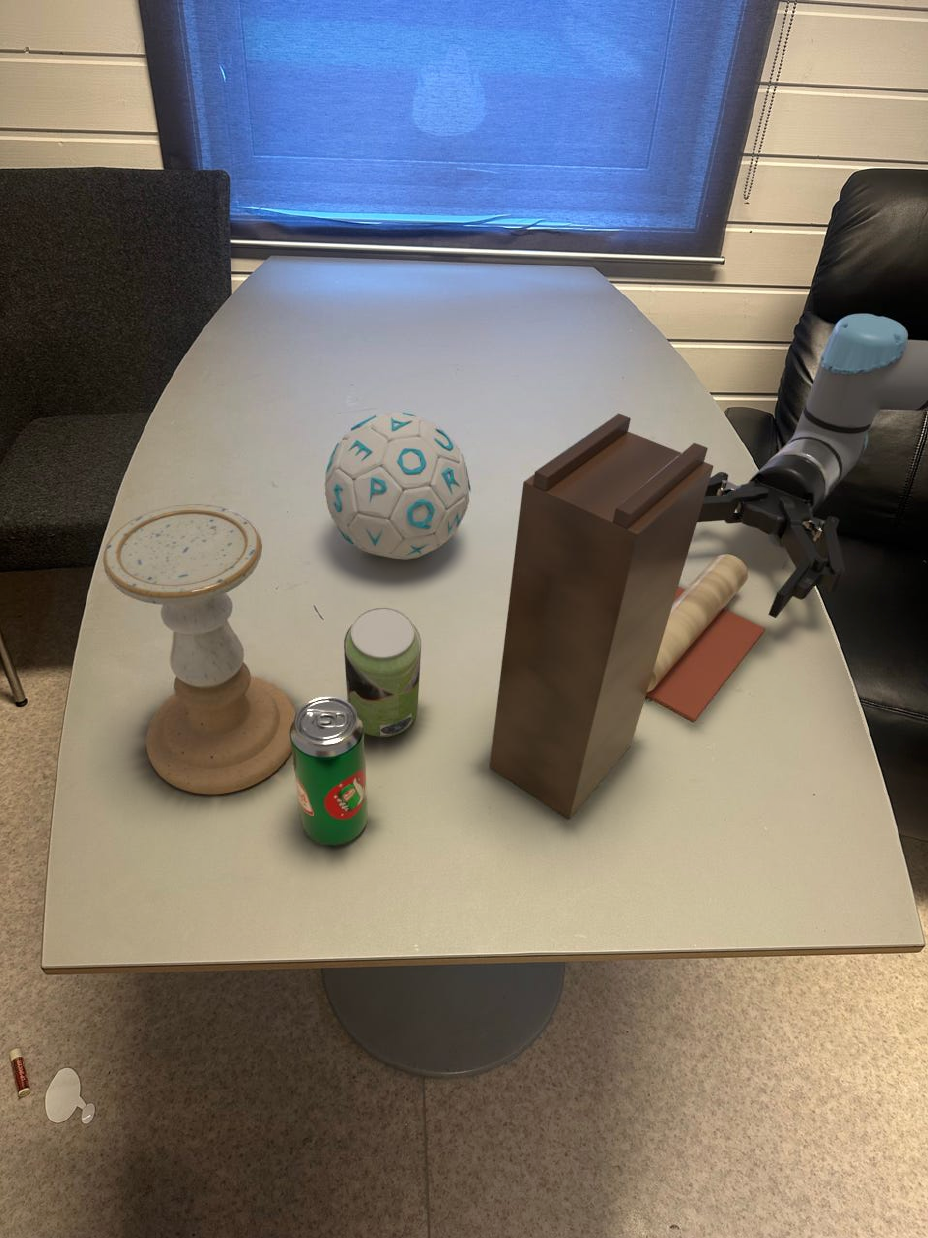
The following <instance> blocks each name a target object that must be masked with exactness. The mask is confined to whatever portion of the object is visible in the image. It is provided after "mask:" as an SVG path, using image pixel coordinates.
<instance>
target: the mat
mask: <svg viewBox="0 0 928 1238" xmlns="http://www.w3.org/2000/svg"><path fill="white" fill-rule="evenodd" d="M685 590H686V589H684V588H682V587H680V586H678V589H677V592H676V595H675V599H674V601H675V600H676V599H677V598H678V597H679V596H680V595H681V594H682V593H683V592H684V591H685ZM765 631H766V627H764V626H762V625H760V624H758V623H755V622H753V621H751V620H749V619H747V618H745V617H743V616H741V615H738V614H736V613H735V612H732V611H730V610H728V609H726V608H725V607H724V608H723V609H722V610H721V611H720V613H719V614H718V615H717V616H716V617H715V618H714V619H713V621H712V622H711V623H710V624H709V625H708V626H707V628H706V629H705V630H704V631H703V632H702V633H701V635H700V636H699V637H698V638H697V639H696V640H695V641H694V643H693V644H692V645H691V646H690V647H689V648H688V650H687V651H686V652H685V653H684V654H683V655H682V656H681V658H680V659H679V660H678V661H677V662H676V663H675V665H674V666H673V667H672V668H671V669H670V670H669V671H668V673H667V674H666V675H665V676H664V677H663V678H662V680H661V681H660V682H659V683H658V684H657V685H656V686H655V688H654V689H653V690H651V691H649V692H647V693H646V697H648V698H649V699H650V700H653V701H654V702H656V703H658V704H660V705H662V706H664V707H666V708H667V709H669V710H672V711H673V712H675V713H676V714H678V715H680V716H682V717H683V718H686V720H687V719H688V720H689V721H691V722H692V723H694V722H696V720H697V719H698V718H699V716H700V715H701V714H702V712H703V711H704V710H705V708H706V707H707V705H709V703H710V702H711V701H712V699H713V698H714V697H715V696H716V695H717V693H718V691H720V689H721V688H722V687H723V686H724V684H725V683H726V682H727V680H728V679H729V677H730V676H731V675H732V674H733V672H734V671H735V670H736V669H737V667H738V666H739V664H740V663H741V662H742V661H743V659H745V657H746V656H747V654H748V653H749V652H750V650H751V649H752V648H753V647H754V645H755V644H756V643H757V641H758V640H759V639H760V637H761V636H762V635H763V634H764V632H765Z"/></svg>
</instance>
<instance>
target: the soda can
mask: <svg viewBox="0 0 928 1238" xmlns="http://www.w3.org/2000/svg"><path fill="white" fill-rule="evenodd" d="M290 742H291V749H292V751H291V757H292V763H293V770H294V771H293V772H294V777H295V784H296V785H295V786H296V790H297V791H296V794H297V799H298V800H297V801H298V806H299V807H298V808H299V814H300V822H301V826H302V830H303V831H304V833H305V835H307V837H309V839H310V840H312V841H314V842H316V843H318V844H321V845H324V846H338V845H339V846H340V845H343V844H346V843H349V842H351V841H353V840H354V839H356V837H358V836H359V835H360V834H361V833H362V832H363V830H364V829H365V828H366V825H367V821H368V814H369V813H368V794H367V793H368V792H367V773H366V771H367V770H366V749H365V748H366V747H365V733H364V727H363V722H362V719H361V718H360V716H359V715H358V714H357V713H356V711H355V709H354V707H353V706H352V705H351V704H350V703H348V701H347V700H345V699H343V698H340V697H337V696H321V697H320V696H319V697H316V698H313V699H311V700H309V701H307V702H305V703H304V704H303V705H301V706H300V707H299V708H298V710H297V711H296V715H295V718H294V720H293V722H292V724H291V727H290Z"/></svg>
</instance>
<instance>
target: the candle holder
mask: <svg viewBox="0 0 928 1238" xmlns="http://www.w3.org/2000/svg"><path fill="white" fill-rule="evenodd" d="M262 549H263V543H262V538H261V535H260V532H259V531H258V528H257V527H256V526H255V524H254V523H253V522H252V521H251V520H250V519H248V518H247V517H246V516H244V515H242V514H241V513H239V512H237V511H234V510H232V509H230V508H226V507H222V506H217V505H212V504H203V503H196V504H194V503H193V504H192V503H191V504H190V503H188V504H179V505H172V506H167V507H166V506H165V507H163V508H159V509H155V510H152V511H149V512H146V513H144V514H142V515H140V516H137V517H135V518H134V519H132V520H130V521H129V522H127V523H125V524H124V525H123V526H121V527H120V528H119V529H118V530H117V531H116V532H115V533H114V534H113V535H112V536H111V537H110V539H109V540H108V542H107V544H106V545H105V549H104V551H103V556H102V557H103V559H102V562H103V567H104V572H105V574H106V576H107V578H108V580H109V581H110V583H111V584H112V585H113V586H114V587H115V588H116V589H117V590H118V591H119V592H121V593H122V594H124V595H125V596H127V597H129V598H131V599H133V600H136V601H140V602H142V603H148V604H152V605H161V609H160V617H161V621H162V623H163V624H164V625H165V626H166V627H167V628H168V629H169V630H170V631H172V641H171V647H170V653H169V665H170V668H171V671H172V673H173V674H174V676H175V677H174V681H173V691H174V693H173V694H172V695H171V696H170V697H169V698H167V699H165V701H164V702H163V703H161V705H160V706H159V708H158V709H157V710H156V712H155V713H154V714H153V716H152V719H151V721H150V722H149V725H148V728H147V733H146V735H145V737H146V738H145V739H146V740H145V741H146V742H145V746H146V751H147V757H148V759H149V761H150V763H151V765H152V767H153V769H154V771H156V772H157V774H158V775H159V776H160V777H161V778H162V779H163V780H164V781H165V782H166V783H168V784H170V785H171V786H173V787H175V788H178V789H180V790H182V791H185V792H188V793H189V792H190V793H194V794H199V795H221V794H230V793H234V792H238V791H241V790H244V789H247V788H250V787H252V786H254V785H257V784H258V783H260V782H262V781H263V780H265V779H267V778H269V776H271V775H272V774H273V773H275V772H276V771H278V769H279V768H280V767H281V766H282V765H283V764H284V763H285V762H286V761H287V760H288V758H289V756H290V755H291V754H292V749H291V742H290V727H291V724H292V722H293V720H294V718H295V715H296V713H297V711H296V709H295V707H294V705H293V703H292V701H291V700H290V698H289V697H288V696H287V694H286V693H284V692H283V690H282V689H280V688H279V687H277V686H276V685H274V684H273V683H271V682H269V681H268V680H264V679H262V678H259V677H255V676H252V675H251V672H250V668H249V666H248V664H246V663H245V662H244V658H245V650H244V647H243V644H242V642H241V640H240V639H239V637H238V636H237V635H236V633H235V631H234V630H233V627H232V626H231V625H230V624H231V623H229V621H228V620H229V618H230V617H231V615H232V613H233V601H232V599H231V597H230V596H229V594H228V592H230V591H232V590H235V588H237V587H239V586H240V585H241V584H243V583H244V582H245V581H246V580H248V578H249V577H250V576H251V575H252V574H253V573H254V571H255V570H256V568H257V567H258V565H259V562H260V559H261V557H262V551H263V550H262Z"/></svg>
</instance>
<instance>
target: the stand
mask: <svg viewBox="0 0 928 1238" xmlns="http://www.w3.org/2000/svg"><path fill="white" fill-rule="evenodd" d="M631 419H632V418H631V417H629V416H627V415H625V414H621V413H616V414H615V415H614V416H612V417H611V418H609V419H608V420H607V421H605V422H604V423H602V424H601V425H600V426H597V428H595V429H594V430H592V431H590V432H589V433H588V434H587V435H585V436H584V437H582V438H581V439H580V440H578V441H577V442H575V443H574V444H572V445H570V446H569V447H568V448H566V449H565V450H563V451H562V452H561V453H559V454H558V455H556V456H555V457H553V458H552V459H551V460H549V461H548V462H546V463H545V464H543V465H542V466H541V467H539V468H537V469H536V470H534V473H533V474H532V475H531V476H529V477H528V478H526V479H525V480H524V481H523V483H522V491H521V499H520V507H519V515H518V524H517V532H516V541H515V550H514V558H513V564H512V565H513V567H512V575H511V582H510V589H509V598H508V599H509V600H508V607H507V615H506V624H505V631H504V632H505V633H504V641H503V650H502V657H501V667H500V675H499V683H498V692H497V699H496V709H495V715H494V716H495V717H494V726H493V732H492V733H493V734H492V742H491V750H490V757H489V768H490V769H491V770H493V771H494V772H496V773H497V774H499V775H501V776H502V777H503V778H505V779H506V780H508V781H509V782H511V783H513V784H514V785H516V786H518V787H519V788H520V789H522V790H524V791H525V792H527V793H528V794H530V795H531V796H532V797H534V798H536V799H538V800H539V801H540V802H542V803H543V804H544V805H547V806H548V807H550V808H551V809H553V810H554V811H555V812H557V813H558V814H560V815H562V816H563V817H565V818H566V819H567V820H570V819H571V818H572V817H573V816H574V814H575V813H576V812H578V810H579V809H580V807H581V806H582V805H584V802H585V801H586V800H587V799H588V798H589V797H590V796H591V794H592V793H593V792H594V791H595V789H596V788H597V787H598V786H599V785H600V783H601V782H602V781H603V780H604V779H605V777H607V775H608V773H609V772H610V771H611V770H612V769H613V767H614V766H616V764H617V763H618V762H619V761H620V760H621V758H622V757H623V756H624V755H625V753H626V752H627V751H628V750H629V748H630V747H631V746H632V744H633V740H634V738H635V733H636V731H637V726H638V723H639V720H640V716H641V714H642V710H643V707H644V703H645V699H646V697H647V696H646V693H647V690H648V687H649V683H650V680H651V676H652V673H653V670H654V666H655V663H656V660H657V656H658V653H659V649H660V646H661V643H662V639H663V636H664V632H665V629H666V626H667V622H668V619H669V616H670V612H671V609H672V605H673V602H674V599H675V595H676V592H677V589H678V587H679V585H680V582H681V577H682V574H683V571H684V568H685V564H686V561H687V558H688V555H689V552H690V549H691V544H692V541H693V538H694V534H695V531H696V528H697V524H698V522H697V521H698V518H699V514H700V511H701V507H702V504H703V501H704V497H705V494H706V491H707V487H708V484H709V480H710V478H711V477H712V473H713V471H714V465H713V464H711V463H708V462H705V461H706V460H705V459H706V456H707V453H708V450H709V449H708V447H706V446H705V445H701V444H699V443H697V442H693V443H691V445H689V446H688V447H687V448H686V449H684V450H683V451H682V452H681V451H678V450H676V449H674V448H670V447H669V446H666V445H663V444H661V443H658V442H656V441H653V440H650V439H648V438H646V437H643V436H640V435H638V434H636V433H633V432H630V431H629V429H630V424H631Z"/></svg>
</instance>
